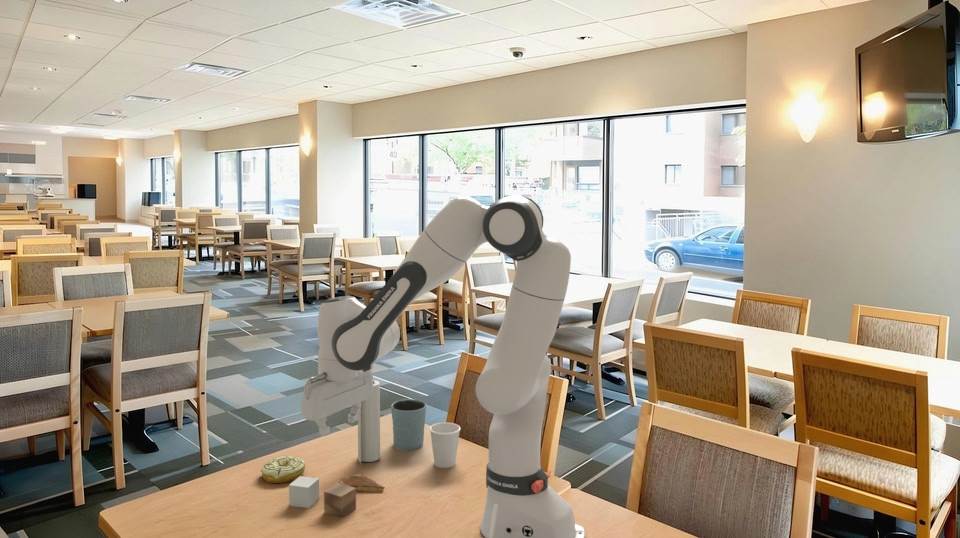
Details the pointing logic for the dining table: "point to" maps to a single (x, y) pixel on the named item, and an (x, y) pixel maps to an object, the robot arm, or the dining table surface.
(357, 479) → the shard
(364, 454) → the paper towel roll
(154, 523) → the dining table surface
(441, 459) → the dixie cup
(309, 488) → the grey cube
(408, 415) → the teal plant pot
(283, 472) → the decorated donut
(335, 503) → the walnut cube
